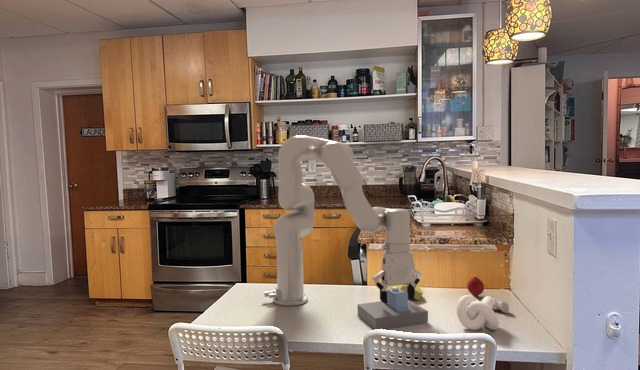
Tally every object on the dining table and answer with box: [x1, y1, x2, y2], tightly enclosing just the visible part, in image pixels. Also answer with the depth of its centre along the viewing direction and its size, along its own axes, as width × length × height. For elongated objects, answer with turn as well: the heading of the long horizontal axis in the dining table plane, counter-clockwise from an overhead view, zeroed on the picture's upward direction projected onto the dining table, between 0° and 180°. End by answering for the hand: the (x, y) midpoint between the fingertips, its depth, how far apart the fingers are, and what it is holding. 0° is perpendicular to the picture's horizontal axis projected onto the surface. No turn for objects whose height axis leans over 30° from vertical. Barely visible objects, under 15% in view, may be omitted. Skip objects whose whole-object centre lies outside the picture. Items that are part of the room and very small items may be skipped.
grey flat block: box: [357, 299, 429, 330], centre depth 127 cm, size 18×13×4 cm
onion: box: [466, 274, 485, 297], centre depth 149 cm, size 6×6×8 cm
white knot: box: [456, 294, 500, 331], centre depth 121 cm, size 11×12×9 cm
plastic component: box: [386, 284, 424, 301], centre depth 154 cm, size 20×7×10 cm
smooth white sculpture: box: [491, 297, 510, 314], centre depth 134 cm, size 4×8×5 cm
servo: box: [387, 287, 411, 313], centre depth 128 cm, size 4×9×9 cm, turn 19°
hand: (397, 300), depth 128 cm, fingers open, 9 cm apart
